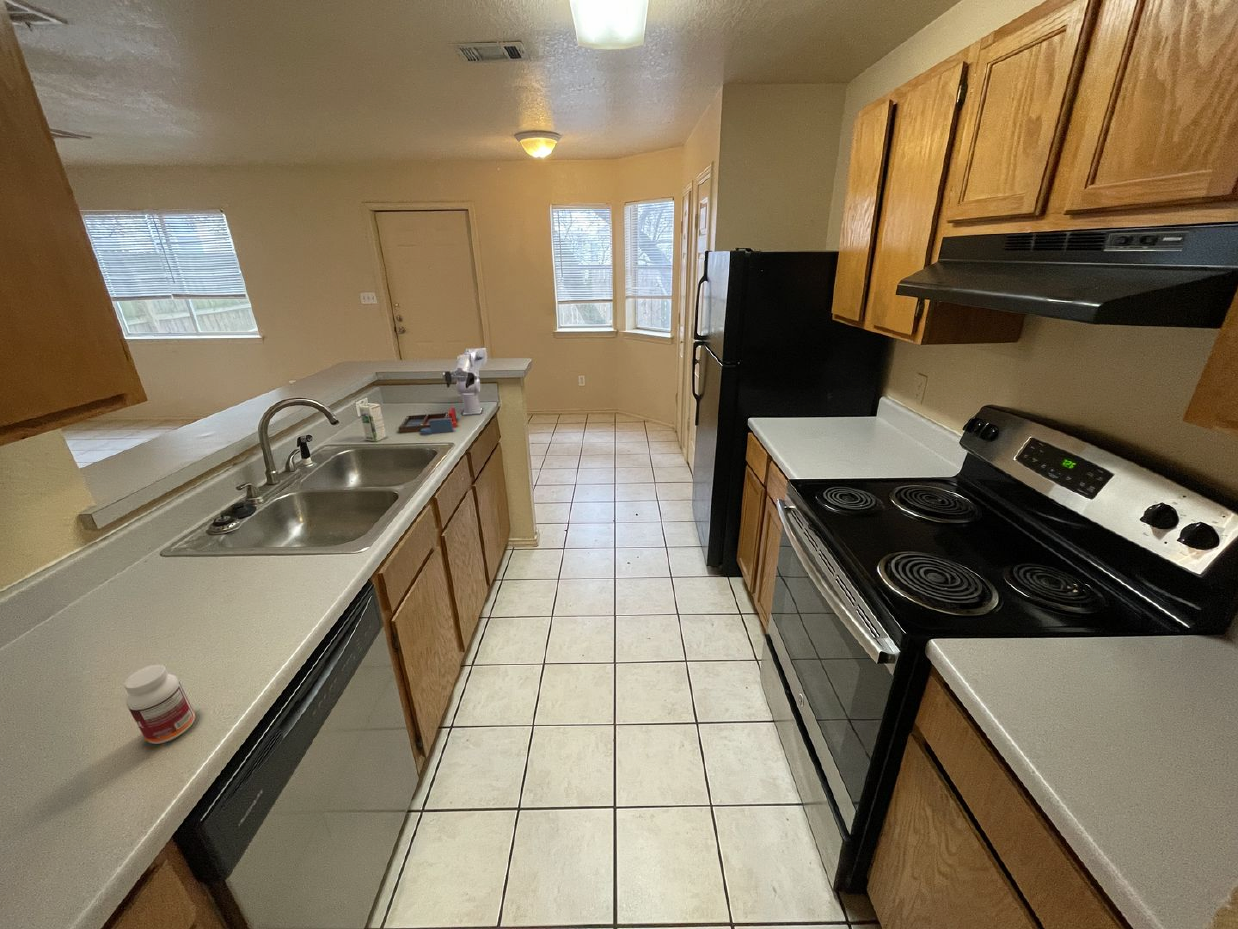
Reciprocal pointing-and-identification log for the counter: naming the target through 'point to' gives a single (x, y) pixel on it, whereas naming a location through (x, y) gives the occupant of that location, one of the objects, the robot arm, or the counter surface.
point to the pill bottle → (158, 704)
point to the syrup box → (372, 421)
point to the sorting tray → (419, 422)
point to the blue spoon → (438, 426)
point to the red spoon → (453, 416)
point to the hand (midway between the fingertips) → (457, 385)
